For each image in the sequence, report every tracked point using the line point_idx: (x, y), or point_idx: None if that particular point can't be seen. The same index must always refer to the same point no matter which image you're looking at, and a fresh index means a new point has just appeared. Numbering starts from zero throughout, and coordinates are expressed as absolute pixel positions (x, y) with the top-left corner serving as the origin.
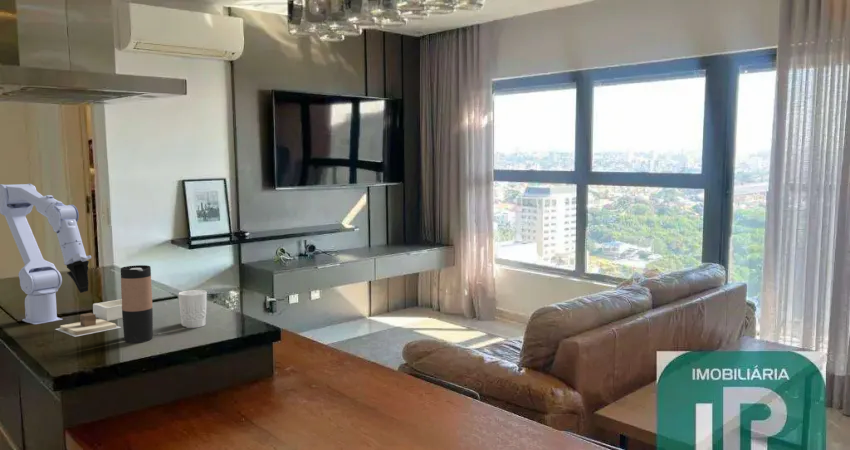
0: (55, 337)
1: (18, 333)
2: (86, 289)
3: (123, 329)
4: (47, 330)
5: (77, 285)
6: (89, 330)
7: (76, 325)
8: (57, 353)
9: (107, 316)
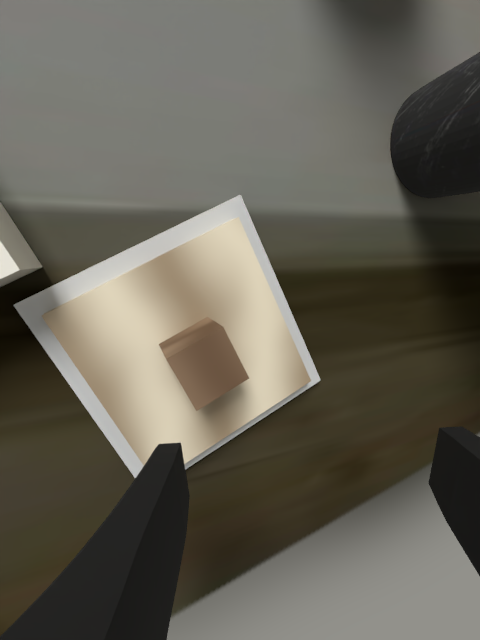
0: (267, 453)
1: None
2: (178, 463)
3: (471, 192)
4: None
5: (176, 583)
6: (288, 335)
7: (185, 406)
8: (459, 395)
9: (34, 264)
